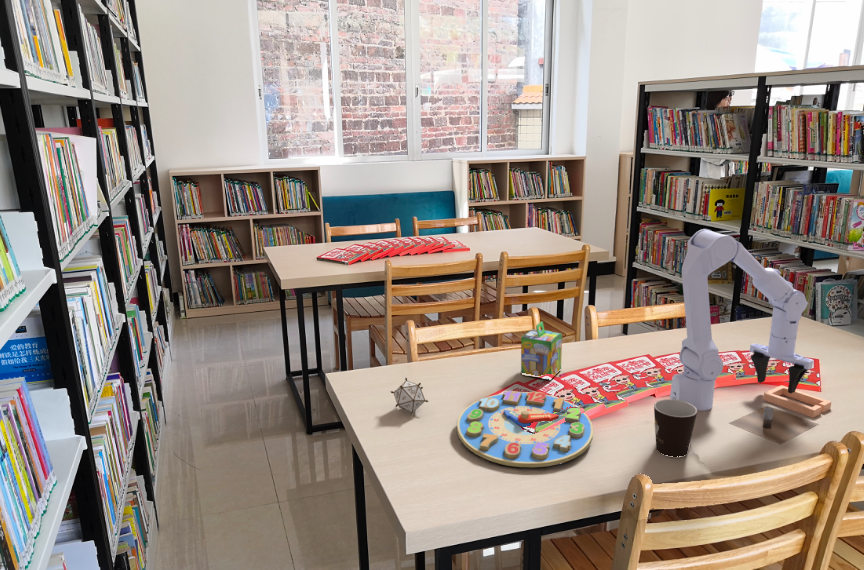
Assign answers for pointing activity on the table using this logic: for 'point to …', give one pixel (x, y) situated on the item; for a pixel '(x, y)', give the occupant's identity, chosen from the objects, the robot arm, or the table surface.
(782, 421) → the stand base
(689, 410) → the coffee mug
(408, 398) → the game die
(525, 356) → the chalk box
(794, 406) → the c link
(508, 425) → the shape sorting clock
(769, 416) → the hook post
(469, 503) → the table surface
